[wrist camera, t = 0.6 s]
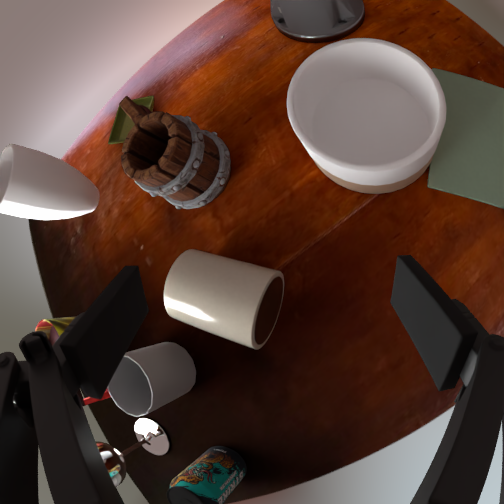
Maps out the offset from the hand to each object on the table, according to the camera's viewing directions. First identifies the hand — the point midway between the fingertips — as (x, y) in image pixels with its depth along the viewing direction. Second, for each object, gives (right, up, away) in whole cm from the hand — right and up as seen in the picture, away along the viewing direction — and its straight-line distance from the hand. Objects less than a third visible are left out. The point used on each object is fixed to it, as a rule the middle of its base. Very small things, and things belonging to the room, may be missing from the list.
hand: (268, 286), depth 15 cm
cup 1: (-27, +11, +36) cm, 46 cm away
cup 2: (-13, -16, +28) cm, 35 cm away
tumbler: (-2, -4, +25) cm, 25 cm away
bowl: (+14, +17, +20) cm, 29 cm away
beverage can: (-4, -30, +24) cm, 39 cm away
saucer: (-21, +24, +34) cm, 47 cm away
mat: (+30, +16, +13) cm, 37 cm away
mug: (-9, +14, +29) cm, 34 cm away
